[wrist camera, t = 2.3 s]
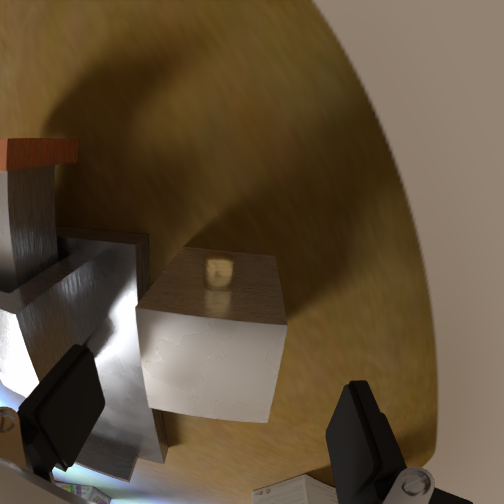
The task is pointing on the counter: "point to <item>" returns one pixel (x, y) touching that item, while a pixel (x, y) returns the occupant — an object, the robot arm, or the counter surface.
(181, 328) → the block
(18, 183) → the ram
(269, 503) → the supplement box
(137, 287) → the press bed
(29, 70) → the counter surface
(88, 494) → the cake pan box
